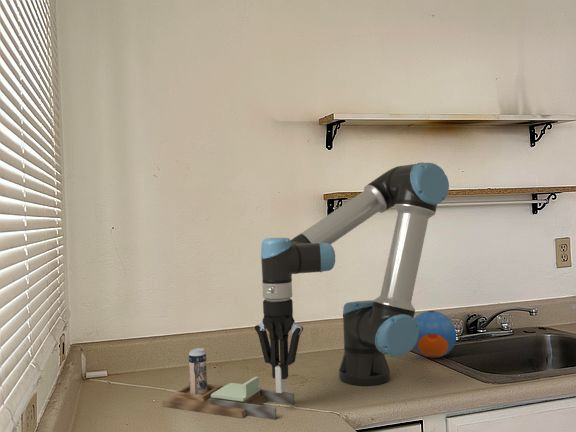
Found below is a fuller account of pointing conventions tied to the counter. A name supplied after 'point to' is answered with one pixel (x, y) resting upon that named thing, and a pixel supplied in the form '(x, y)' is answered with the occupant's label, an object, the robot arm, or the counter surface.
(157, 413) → the counter surface
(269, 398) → the housing
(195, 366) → the beer can
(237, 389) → the lid
